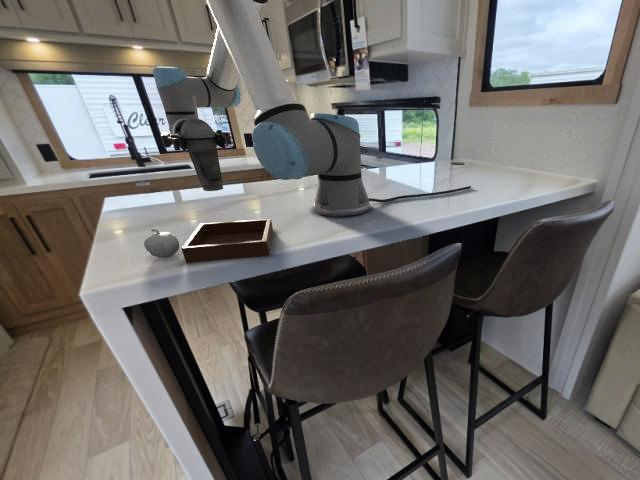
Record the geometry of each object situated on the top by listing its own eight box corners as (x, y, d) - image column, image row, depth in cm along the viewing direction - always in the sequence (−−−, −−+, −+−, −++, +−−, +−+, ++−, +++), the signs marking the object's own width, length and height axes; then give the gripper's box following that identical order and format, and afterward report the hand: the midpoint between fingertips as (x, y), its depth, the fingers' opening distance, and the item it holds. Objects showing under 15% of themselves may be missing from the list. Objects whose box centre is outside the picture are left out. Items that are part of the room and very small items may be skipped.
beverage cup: (197, 187, 84) (169, 95, 74) (228, 184, 87) (205, 95, 76) (196, 193, 78) (166, 95, 68) (230, 190, 81) (206, 95, 71)
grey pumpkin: (148, 253, 65) (138, 228, 62) (180, 247, 67) (171, 222, 65) (151, 264, 60) (139, 237, 58) (184, 257, 63) (175, 231, 61)
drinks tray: (273, 231, 76) (270, 218, 75) (269, 255, 64) (266, 241, 63) (204, 236, 73) (200, 223, 71) (186, 263, 61) (180, 248, 59)
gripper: (233, 147, 96) (253, 157, 80) (151, 152, 86) (156, 164, 70) (226, 118, 93) (246, 122, 76) (140, 120, 83) (142, 124, 67)
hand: (203, 142), depth 73 cm, fingers closed on beverage cup, 7 cm apart
